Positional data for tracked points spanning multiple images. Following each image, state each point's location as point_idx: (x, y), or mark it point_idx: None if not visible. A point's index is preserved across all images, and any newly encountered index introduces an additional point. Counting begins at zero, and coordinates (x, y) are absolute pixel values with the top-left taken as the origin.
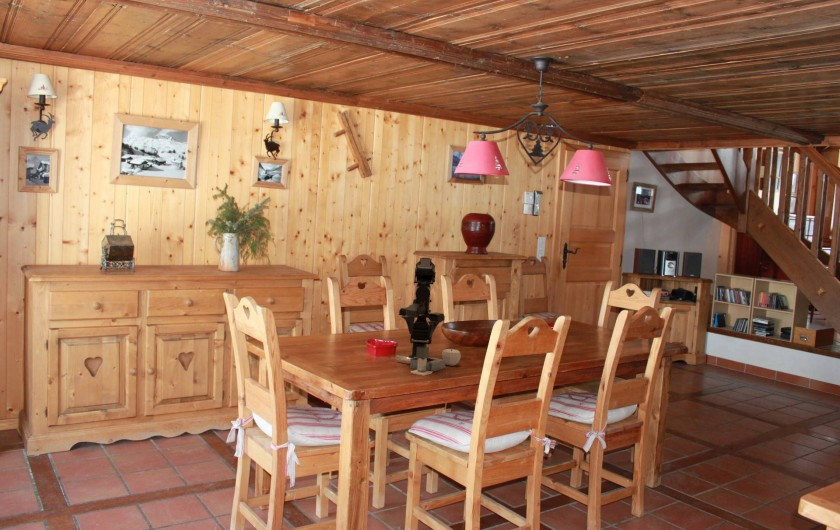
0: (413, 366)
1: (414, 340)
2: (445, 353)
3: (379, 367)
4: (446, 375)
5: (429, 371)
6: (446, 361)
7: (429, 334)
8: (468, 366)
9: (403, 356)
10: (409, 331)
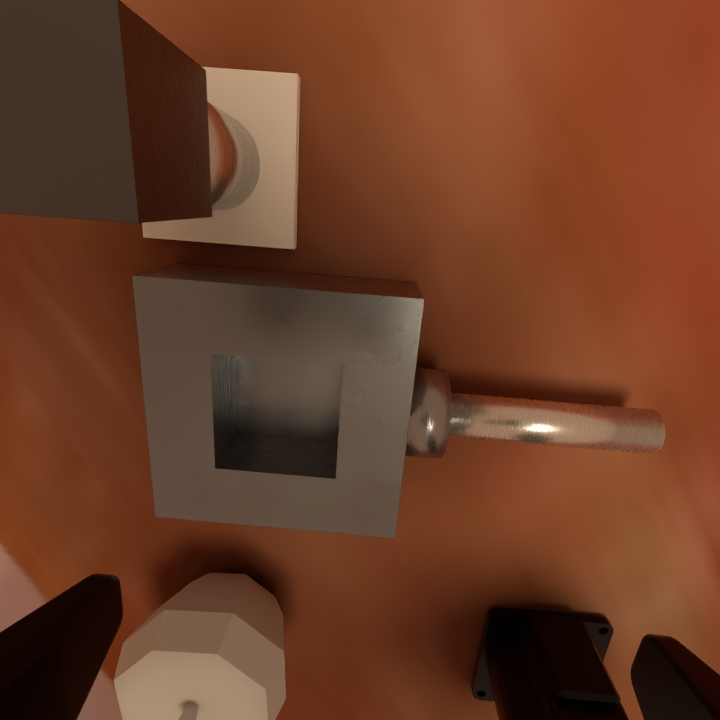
0: (378, 283)
1: None
2: (212, 638)
3: (692, 39)
4: (22, 263)
5: (166, 228)
6: (227, 582)
7: (25, 627)
8: (123, 633)
9: (583, 435)
10: (715, 682)
